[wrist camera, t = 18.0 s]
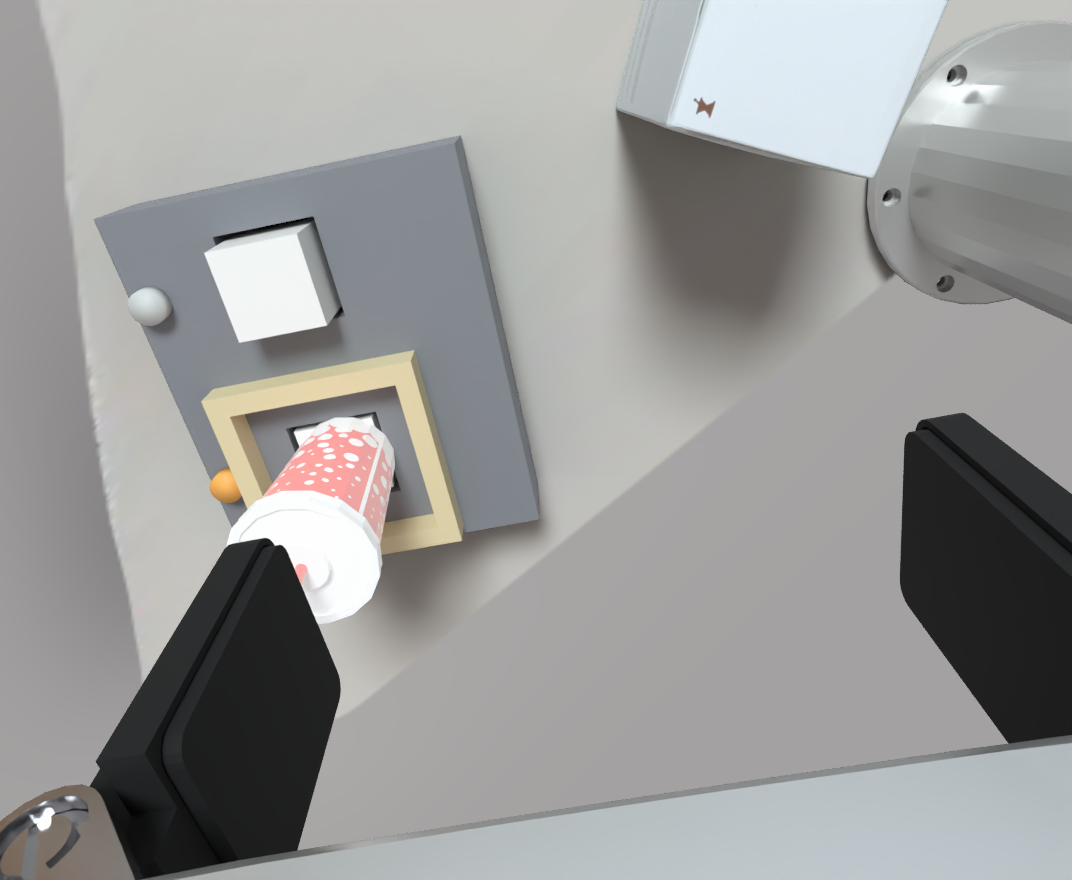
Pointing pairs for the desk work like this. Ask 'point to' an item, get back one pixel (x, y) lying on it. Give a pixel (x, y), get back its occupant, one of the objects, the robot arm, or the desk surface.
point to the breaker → (275, 280)
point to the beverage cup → (329, 514)
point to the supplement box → (781, 74)
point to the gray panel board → (344, 337)
